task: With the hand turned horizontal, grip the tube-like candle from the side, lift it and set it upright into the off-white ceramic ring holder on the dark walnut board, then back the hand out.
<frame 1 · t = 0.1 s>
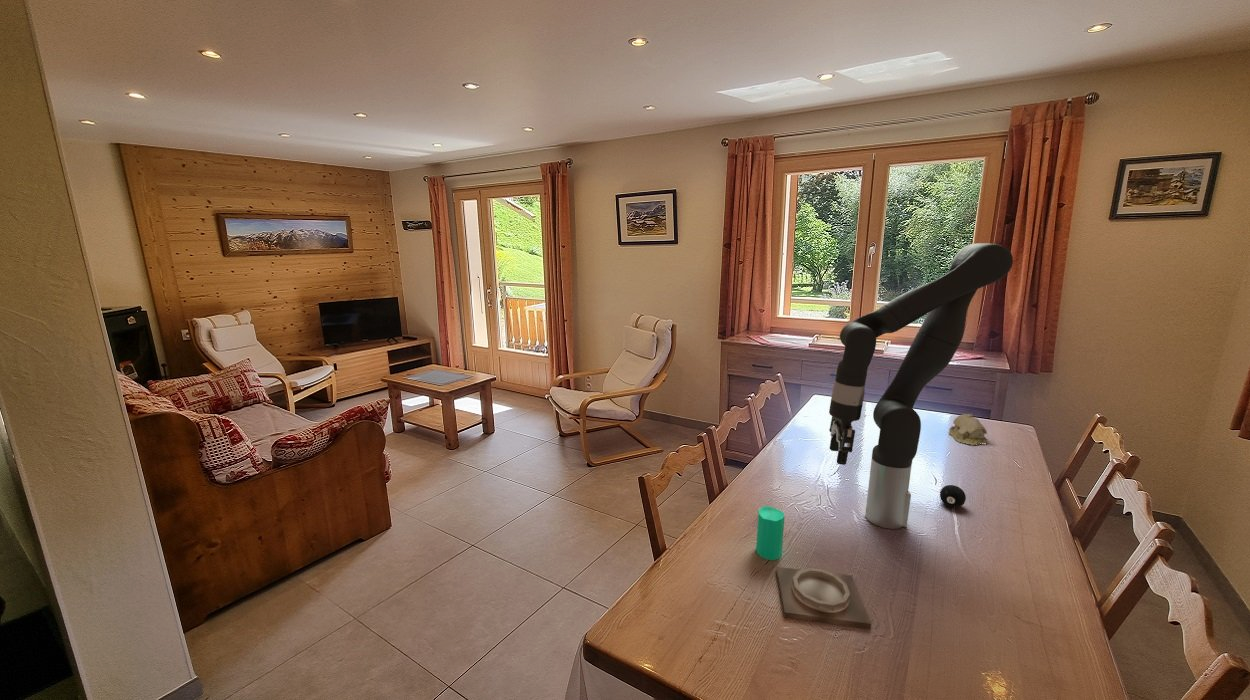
hand: (837, 456, 127), 17 cm above the table, tool pointing down, fingers open, 8 cm apart
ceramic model: (966, 439, 182), on the table
holder: (819, 597, 100), on the table
candle: (768, 552, 116), on the table
billiard ball: (951, 506, 135), on the table
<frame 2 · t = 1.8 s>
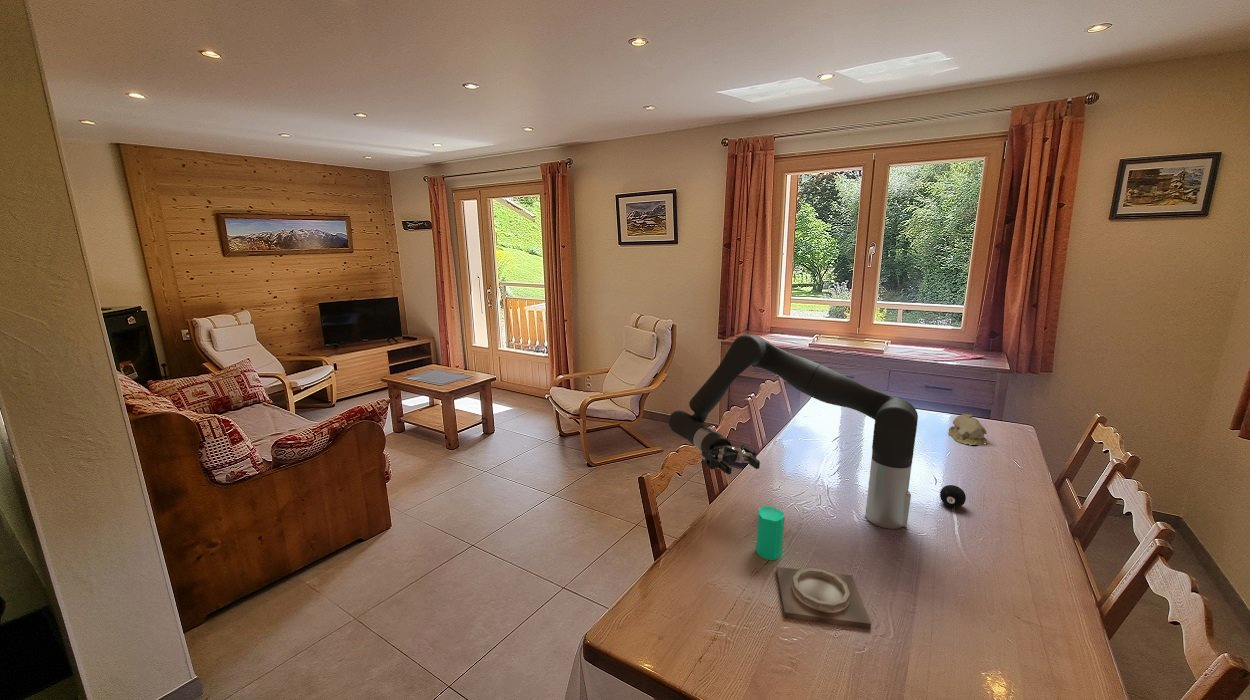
hand: (744, 468, 122), 17 cm above the table, tool horizontal, fingers open, 8 cm apart
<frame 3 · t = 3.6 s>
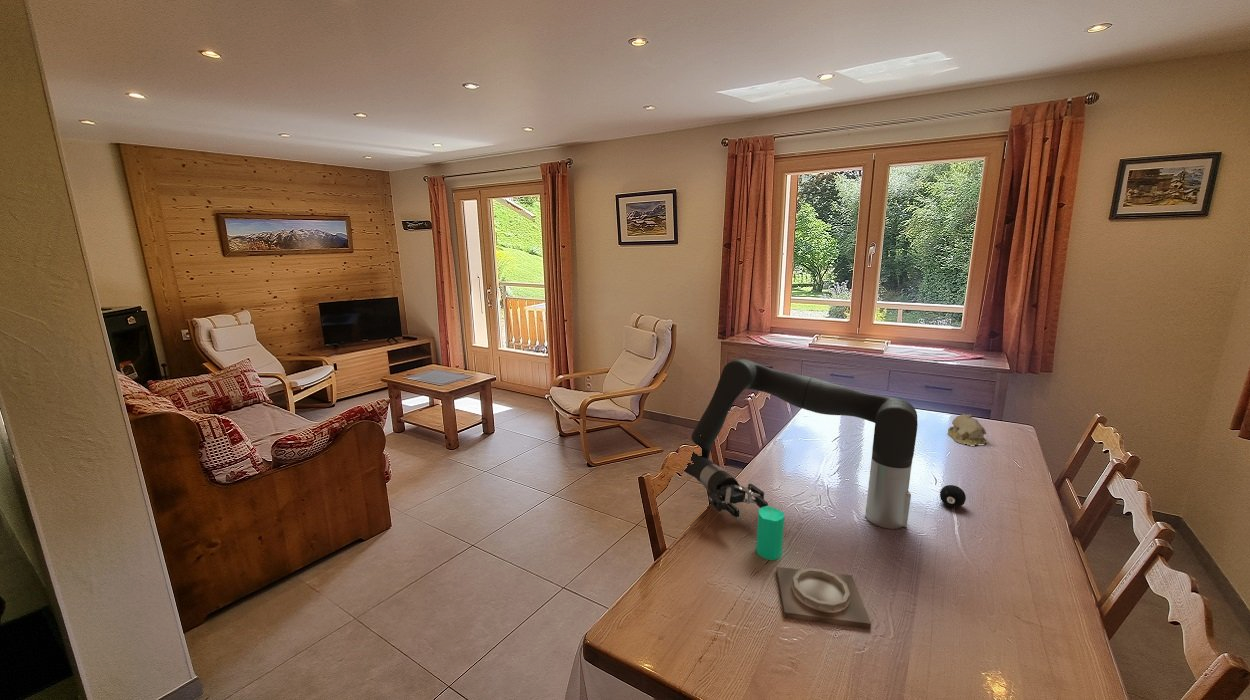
hand: (752, 511, 121), 7 cm above the table, tool horizontal, fingers open, 8 cm apart
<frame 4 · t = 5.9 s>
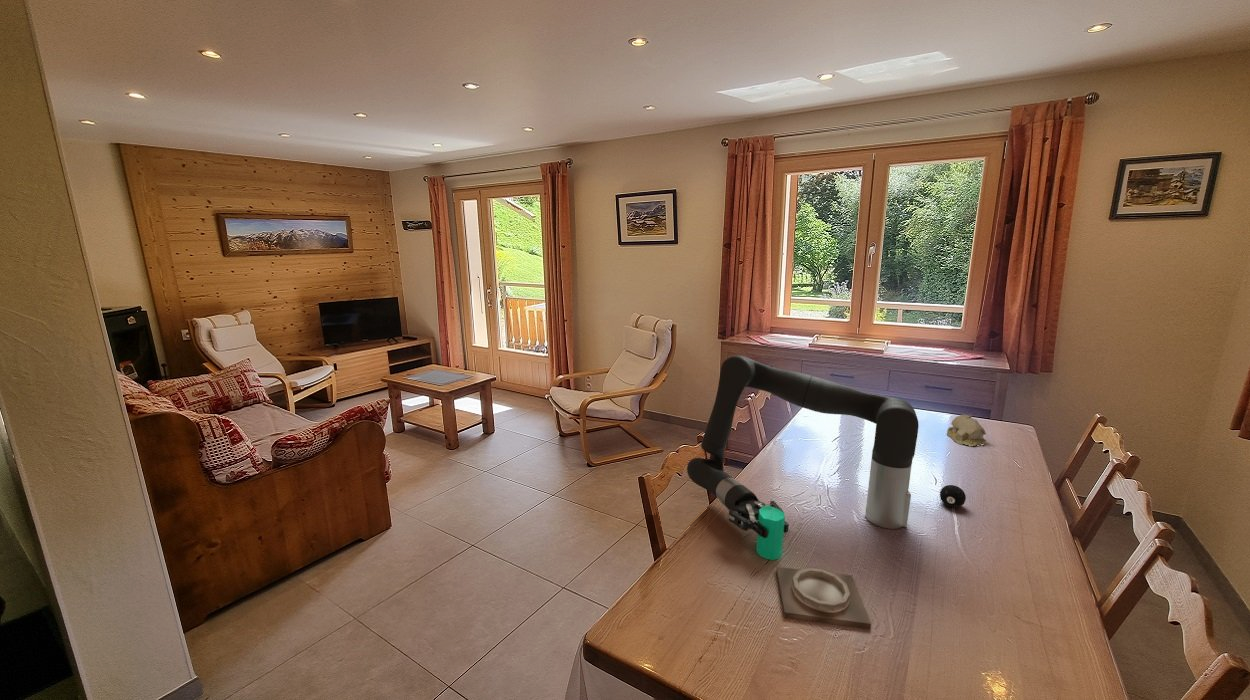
hand: (776, 531, 112), 7 cm above the table, tool horizontal, fingers closed on candle, 5 cm apart
candle: (768, 552, 116), on the table, touching gripper
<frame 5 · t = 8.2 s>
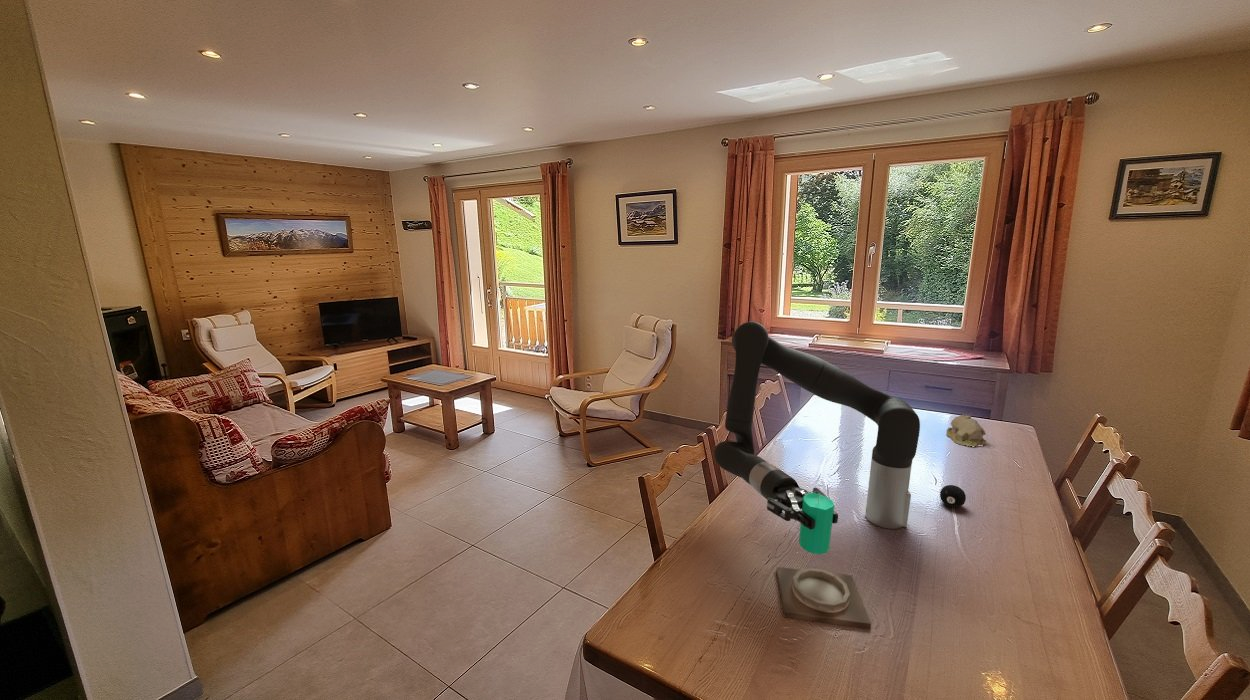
hand: (824, 522, 97), 18 cm above the table, tool horizontal, fingers closed on candle, 5 cm apart
candle: (813, 546, 101), point 10 cm above the table, touching gripper
when the fingers open (9 cm above the table, at t = 10.5 s): candle stays where it is, resting on holder.
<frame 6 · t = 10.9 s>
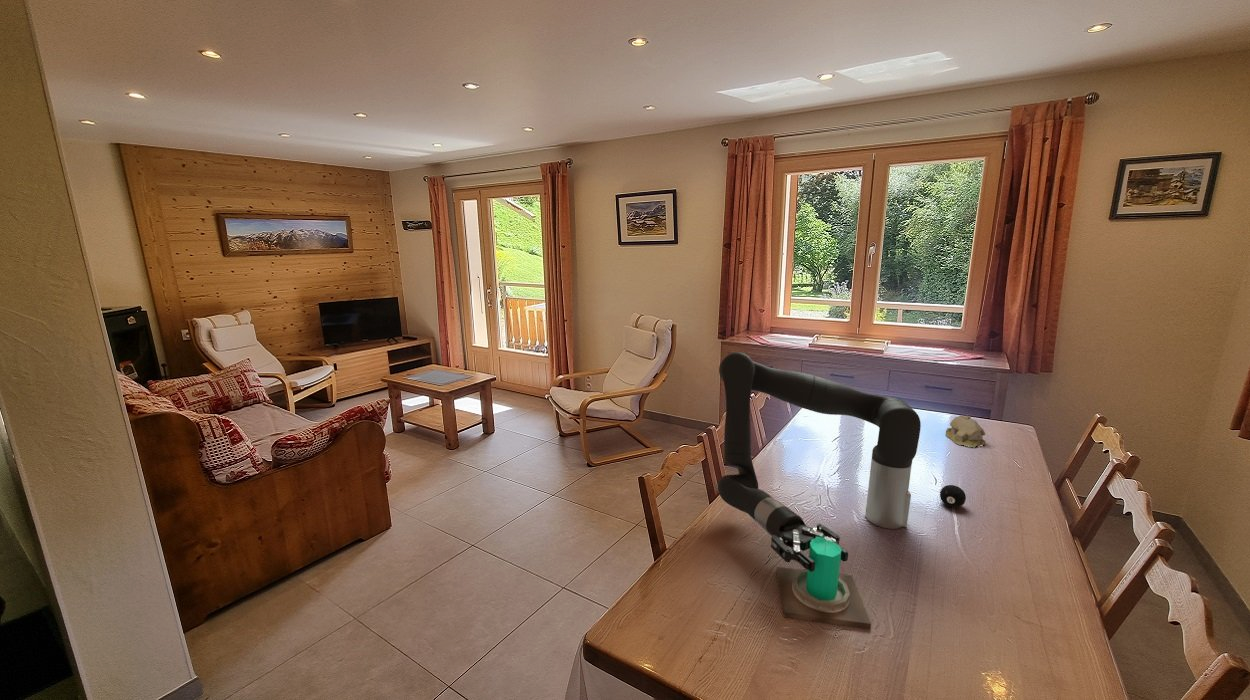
hand: (830, 562, 97), 10 cm above the table, tool horizontal, fingers open, 8 cm apart
candle: (821, 591, 100), point 1 cm above the table, touching holder
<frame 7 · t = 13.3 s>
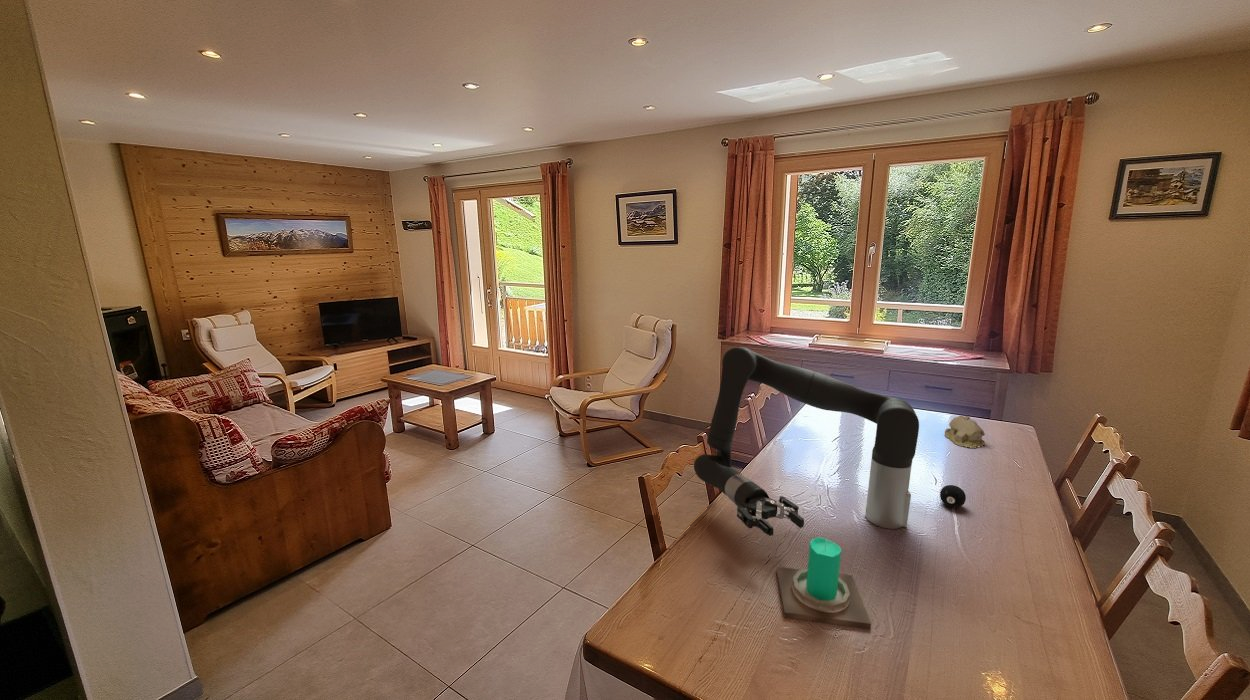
hand: (787, 528, 108), 10 cm above the table, tool horizontal, fingers open, 8 cm apart
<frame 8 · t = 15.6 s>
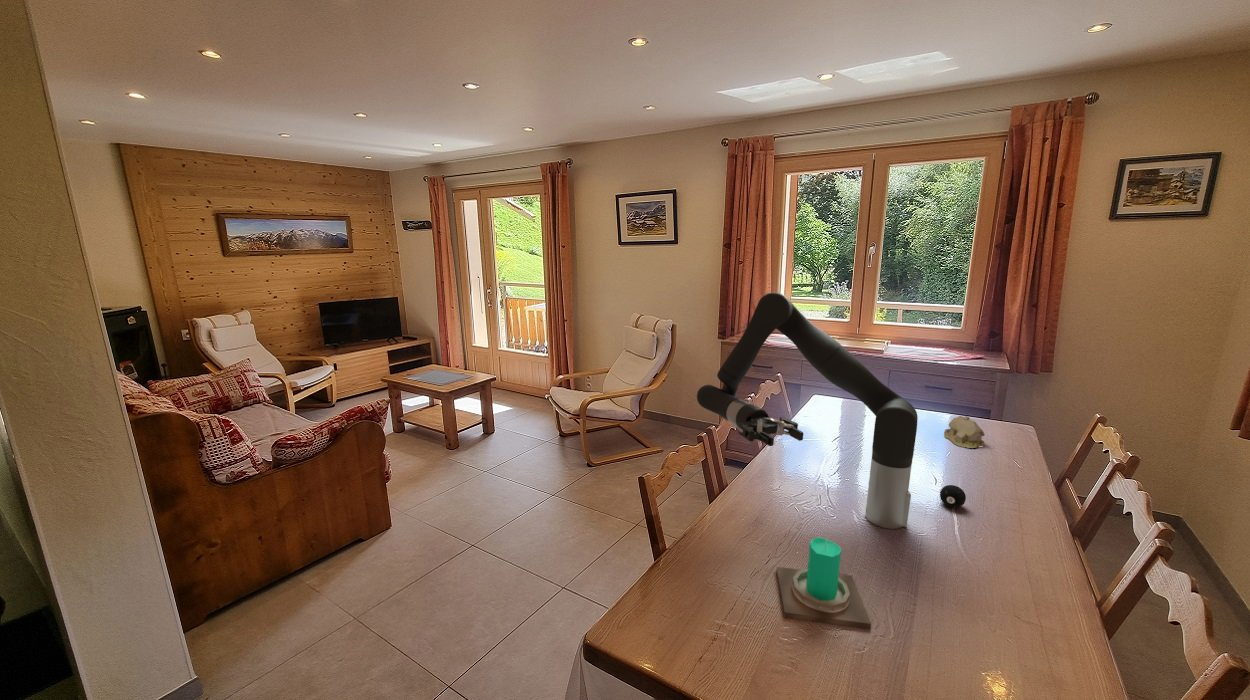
hand: (787, 439, 112), 28 cm above the table, tool horizontal, fingers open, 8 cm apart
at the end: candle 0.4 cm off-centre on the holder, point 1.4 cm above the holder's base; candle tilted 0°; the gripper is holding nothing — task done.
